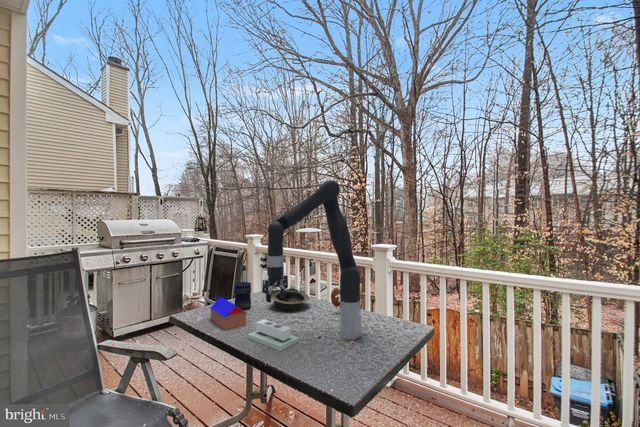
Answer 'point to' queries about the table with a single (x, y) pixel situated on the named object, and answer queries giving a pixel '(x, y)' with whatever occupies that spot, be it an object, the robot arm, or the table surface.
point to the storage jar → (243, 295)
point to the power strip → (273, 330)
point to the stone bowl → (289, 299)
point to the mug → (333, 298)
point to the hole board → (272, 340)
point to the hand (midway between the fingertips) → (275, 300)
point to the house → (227, 314)
